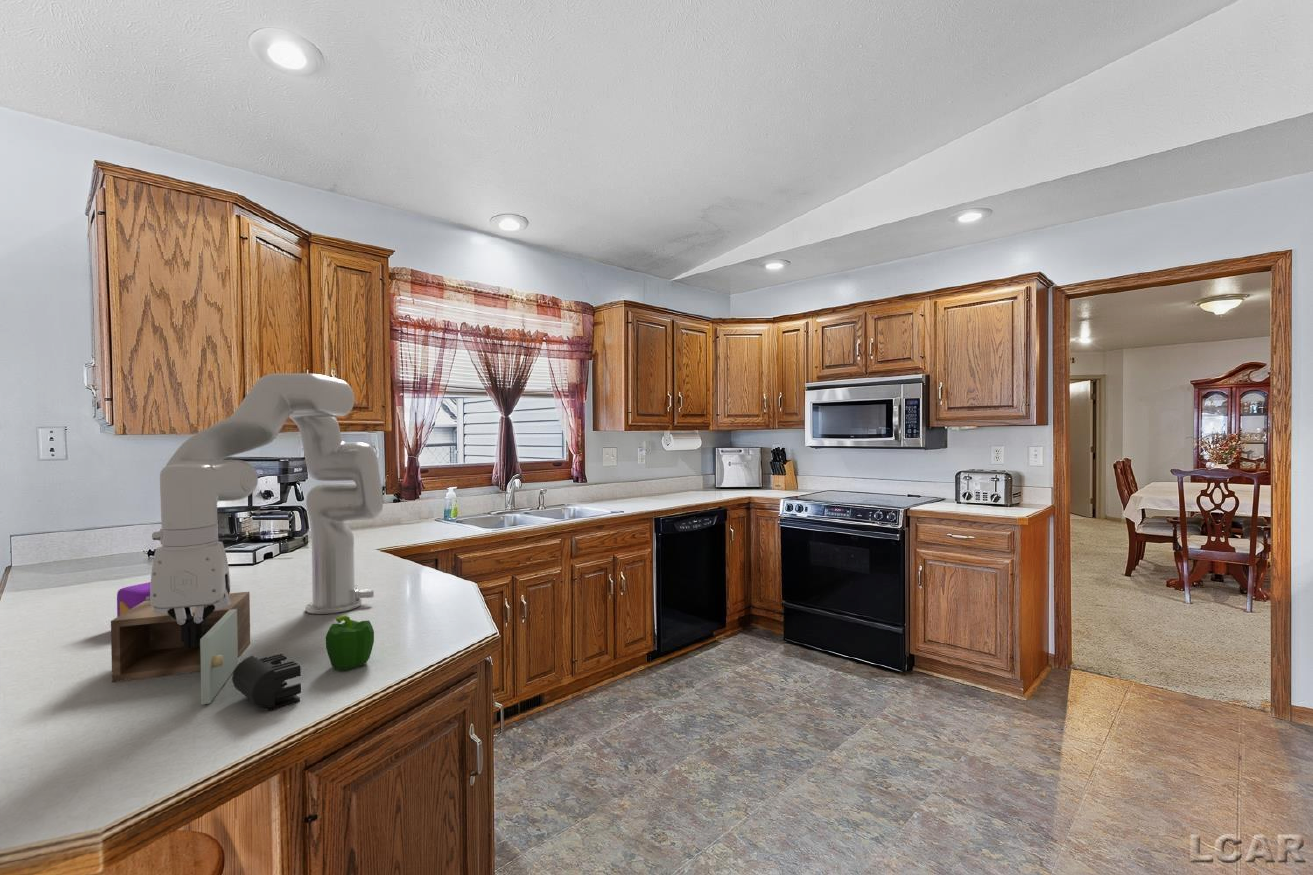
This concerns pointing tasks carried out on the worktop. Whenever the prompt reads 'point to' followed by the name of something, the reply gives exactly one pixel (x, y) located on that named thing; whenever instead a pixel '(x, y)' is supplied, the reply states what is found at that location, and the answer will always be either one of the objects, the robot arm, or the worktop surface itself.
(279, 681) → the end cap
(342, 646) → the bell pepper
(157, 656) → the cabinet
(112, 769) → the worktop surface
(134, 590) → the toy camera
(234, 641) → the door
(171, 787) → the worktop surface
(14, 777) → the worktop surface
